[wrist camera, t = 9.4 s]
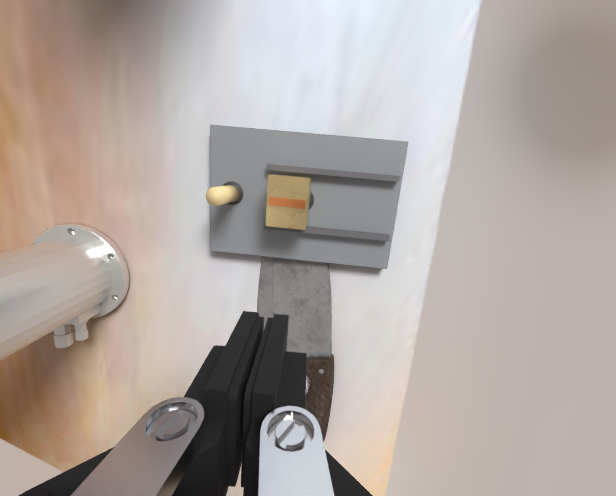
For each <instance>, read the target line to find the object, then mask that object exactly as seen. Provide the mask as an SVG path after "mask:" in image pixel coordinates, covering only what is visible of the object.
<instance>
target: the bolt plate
mask: <svg viewBox="0 0 616 496" xmlns="http://www.w3.org/2000/svg"><path fill="white" fill-rule="evenodd" d="M407 147H408V142H406V141H394V140H382V139H371V138H359V137H347V136H336V135H324V134H312V133H301V132H289V131H277V130H266V129H254V128H242V127H231V126H219V125H210V189H208V191H207V192H206V199H207V201H208V203H209V204H210V251H219V252H228V253H238V254H248V255H257V256H267V257H277V258H286V259H296V260H306V261H315V262H325V263H335V264H344V265H354V266H363V267H373V268H383V269H387V266H388V260H389V254H390V248H391V242H392V236H393V230H394V224H395V218H396V212H397V206H398V200H399V195H400V189H401V183H402V177H403V171H404V165H405V159H406V153H407ZM268 174H277V175H288V176H299V177H309V178H312V184H311V195H310V206H309V217H308V224H307V227H306V230H301V229H291V228H281V227H271V226H266V207H267V187H268Z"/></svg>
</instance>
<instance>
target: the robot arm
mask: <svg viewBox="0 0 616 496" xmlns="http://www.w3.org/2000/svg"><path fill="white" fill-rule="evenodd" d="M128 287H129V272H128V268H127V264H126V262H125V260H124V258H123V255H122V254H121V252H120V251H119V249H118V248H117V246H116V245H115V244H114V243H113V242H112V241H111V240H110V239H109V238H107V237H106V236H105V235H104V234H102V233H101V232H99V231H97V230H95V229H93V228H91V227H88V226H85V225H80V224H63V225H59V226H54V227H52V228H49V229H47V230H45V231H44V232H43V233H41V234H40V235H39V236H38V237H37V239H36V240H35V241H34V243H33V245H31V246H27V247H22V248H18V249H14V250H10V251H6V252H2V253H0V361H1V360H3V359H5V358H6V357H8V356H10V355H12V354H13V353H15V352H17V351H19V350H20V349H22V348H24V347H26V346H27V345H29V344H31V343H33V342H34V341H36V340H38V339H40V338H41V337H43V336H45V335H47V334H48V333H50V332H52V331H54V333H53V338H54V345H55V347H56V348H65V347H68V346H70V345H72V344H73V343H74V339H73V331H72V329H71V325H74V328H75V330H74V333H75V340H76V341H82V340H85V339H87V338H88V337H89V335H88V328H87V325H86V323H87V322H88V321H89V319H90V318H95V317H100V316H103V315H105V314H107V313H109V312H111V311H112V310H114V309H115V308H117V307H118V306H119V305H120V304H121V303H122V301H123V300H124V298H125V297H126V294H127V291H128ZM70 324H71V325H70ZM288 324H289V315H282V314H274V317H273V318H270V317H268V319H267V322H266V325H265V329H264V317H259V313H258V312H246V311H243V313H242V315H241V317H240V319H239V321H238V323H237V325H236V327H235V328H234V330H233V332H232V334H231V336H230V338H229V340H228V342H227V344H226V346H214V347H213V348H212V350H211V351H210V353H209V355H208V356H207V358H206V360H205V362H204V363H203V365H202V367H201V368H200V370H199V372H198V374H197V375H196V377H195V379H194V380H193V382H192V384H191V386H190V387H189V389H188V391H187V392H186V394H185V396H184V397H177V398H171V399H168V400H165V401H162V402H160V403H159V404H157V405H155V406H153V407H152V408H151V409H150V410H148V411H147V412H146V413H145V414H144V415H143V416H142V417H141V418H140V420H139V421H138V422H137V423H136V424H135V425H134V426H133V427H132V428H131V430H130V431H129V432H128V433H127V434H126V435H125V436H124V437H123V438H122V439H121V441H120V442H119V443H118V444H117V445H116V446H115V447H113V448H111V449H109V450H107V451H105V452H103V453H101V454H99V455H97V456H95V457H93V458H91V459H89V460H87V461H85V462H83V463H81V464H79V465H77V466H75V467H73V468H72V469H70V470H68V471H66V472H64V473H62V474H60V475H58V476H56V477H54V478H52V479H50V480H48V481H46V482H44V483H42V484H40V485H38V486H36V487H34V488H32V489H30V490H28V491H26V492H24V493H23V494H21V495H19V496H226V494H227V490H228V486H235V485H236V482H237V479H238V475H239V471H240V467H241V463H242V470H241V487H244V494H243V496H372V495H371V494H370V493H369V492H368V491H367V490H366V489H365V488H364V487H363V486H362V485H361V484H360V483H359V482H358V481H357V480H356V479H355V478H354V477H353V476H352V475H351V474H350V473H349V472H348V471H347V470H346V469H345V468H344V467H343V466H341V465H340V464H339V463H338V462H337V461H336V460H335V459H334V458H333V457H332V456H331V455H330V454H329V453H328V452H327V451H326V450H325V448H324V443H323V438H322V433H321V429H320V426H319V423H318V421H317V419H316V418H315V417H314V416H313V414H311V413H310V412H308V411H307V410H305V390H306V357H307V353H300V352H288V351H286V350H287V337H288ZM263 330H264V332H263Z"/></svg>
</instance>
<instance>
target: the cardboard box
mask: <svg viewBox="0 0 616 496" xmlns="http://www.w3.org/2000/svg"><path fill="white" fill-rule="evenodd" d="M311 184H312V178H309V177H299V176H288V175H277V174H268V187H267V207H266V226H271V227H281V228H291V229H301V230H306V227H307V224H308V217H309V206H310V195H311Z"/></svg>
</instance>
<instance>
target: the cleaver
mask: <svg viewBox="0 0 616 496" xmlns="http://www.w3.org/2000/svg"><path fill="white" fill-rule="evenodd" d="M257 312H258V313H259V317H264V329H265V325H266V322H267V319H268V317H270V318H273V317H274V314H282V315H289V324H288V337H287V350H286V351H288V352H300V353H307V357H306V374H308V375H309V377H310V379H311V386H310V389H309V391H308V393H307V396H306V399H305V410H307V411H308V412H310V413H311V414H313V416H314V417H315V418H316V419H317V421H318V423H319V426H320V429H321V433H322V438H323V443H324V440H325V436H326V432H327V427H328V422H329V416H330V409H331V402H332V395H333V384H334V356H333V354H332V353H331V285H330V275H329V268H328V263H325V262H315V261H306V260H296V259H286V258H277V257H267V256H262V262H261V269H260V278H259V287H258V300H257ZM263 332H264V330H263Z"/></svg>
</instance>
